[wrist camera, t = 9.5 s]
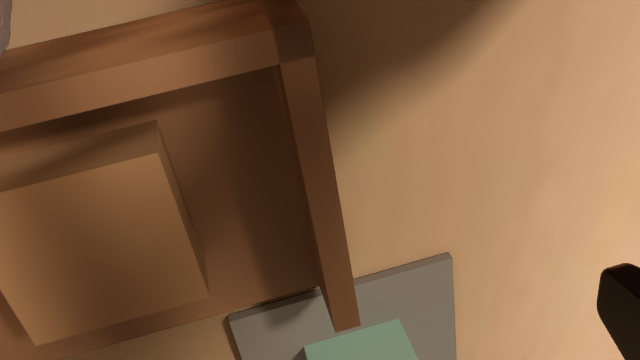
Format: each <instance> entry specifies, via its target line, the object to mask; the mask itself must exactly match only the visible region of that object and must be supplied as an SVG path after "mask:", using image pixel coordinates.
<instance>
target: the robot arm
mask: <svg viewBox="0 0 640 360" xmlns="http://www.w3.org/2000/svg"><path fill="white" fill-rule="evenodd" d="M597 310H598V314H599V316H600V318H601V320H602V322H603V324H604V325H605V327H606V329H607V330H608V332H609V334H610V335H611V337H612V339H613V340H614V342H615V344H616V345H617V347H618V349H619V350H620V352H621V354H622V355H623V357H624V359H625V360H640V267H637V266H635V265H633V264H629V263H623V264H619V265H616V266H612V267H609V268H606V269H604V270H603V272H602V273H601V277H600V283H599V290H598V297H597Z"/></svg>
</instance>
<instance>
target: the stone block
mask: <svg viewBox="0 0 640 360" xmlns="http://www.w3.org/2000/svg"><path fill="white" fill-rule="evenodd" d="M11 8H12V0H0V59H1V54H2V53H3V51H4V50H5V49H6V47H7V46H8V45H9V39H10V19H11Z"/></svg>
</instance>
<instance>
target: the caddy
mask: <svg viewBox="0 0 640 360" xmlns="http://www.w3.org/2000/svg"><path fill="white" fill-rule="evenodd" d="M318 285H319V287H320V289H321V292H322V295H323V298H324V301H325V304H326V307H327V310H328V313H329V315H330V318H331V321H332V324H333V327H334V330H335V333H337V332H341V331H344V330H347V329H351V328H354V327H358V326H361V323H360V317H359V311H358V305H357V300H356V294H355V288H354V282H353V276H352V270H351V264H350V258H349V253H348V247H347V241H346V235H345V229H344V223H343V217H342V211H341V206H340V200H339V194H338V188H337V182H336V176H335V170H334V164H333V159H332V153H331V147H330V141H329V135H328V129H327V123H326V117H325V112H324V106H323V100H322V94H321V88H320V82H319V76H318V70H317V65H316V59H315V53H314V47H313V41H312V35H311V29H310V23H309V20H308V19H307V17H306V16H305V14H304V13H303V12H302V10H301V9H300V7H299V6H298V4H297V3H296V2H295V0H223V1H219V2H215V3H210V4H206V5H202V6H197V7H193V8H189V9H184V10H180V11H175V12H171V13H167V14H162V15H158V16H154V17H149V18H145V19H141V20H136V21H132V22H127V23H123V24H119V25H114V26H110V27H106V28H101V29H97V30H93V31H88V32H84V33H79V34H75V35H71V36H66V37H62V38H58V39H53V40H49V41H45V42H40V43H36V44H31V45H27V46H23V47H18V48H14V49H10V50H5V51H3V53H2V54H1V59H0V360H59V359H63V358H66V357H70V356H73V355H77V354H80V353H84V352H87V351H91V350H94V349H98V348H101V347H105V346H108V345H112V344H115V343H119V342H122V341H126V340H129V339H133V338H136V337H140V336H143V335H147V334H150V333H154V332H157V331H161V330H164V329H168V328H171V327H175V326H178V325H182V324H185V323H189V322H192V321H196V320H199V319H203V318H206V317H210V316H213V315H217V314H220V313H224V312H227V311H231V310H234V309H238V308H241V307H245V306H248V305H252V304H255V303H259V302H262V301H266V300H269V299H273V298H276V297H280V296H283V295H287V294H290V293H294V292H297V291H301V290H304V289H308V288H311V287H315V286H318Z"/></svg>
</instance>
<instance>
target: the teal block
mask: <svg viewBox="0 0 640 360" xmlns="http://www.w3.org/2000/svg"><path fill="white" fill-rule="evenodd" d="M304 349H305V353H306V357H307V360H418V358H417V356H416V354H415V352H414V350H413V348H412V346H411V344H410V342H409V340H408V337H407V335H406V333H405V331H404V329H403V327H402V325H401V323H400V321H399V319H395V320H392V321H388V322H385V323H382V324H378V325H375V326H371V327H368V328H365V329H361V330H358V331H354V332H351V333H348V334H344V335H341V336H337V337H334V338H331V339H327V340H324V341H320V342H317V343H314V344H310V345H307V346H304Z"/></svg>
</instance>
